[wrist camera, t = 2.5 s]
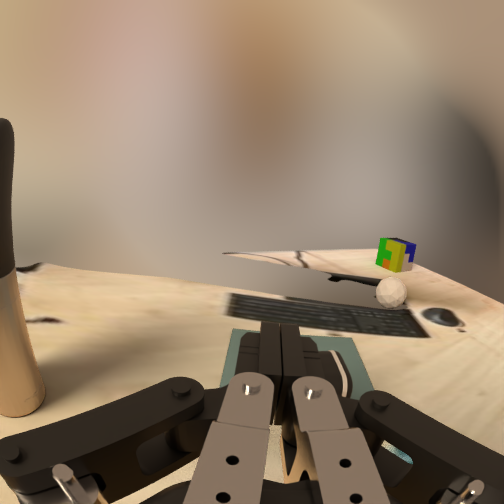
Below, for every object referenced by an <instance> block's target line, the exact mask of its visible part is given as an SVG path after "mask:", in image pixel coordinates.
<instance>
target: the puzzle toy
mask: <svg viewBox="0 0 504 504" xmlns="http://www.w3.org/2000/svg"><path fill="white" fill-rule="evenodd" d="M415 249H416V244H413V243H410V242H407V241H404V240H401V239H398V238H380V244H379V249H378V254H377V259H376V264H377V265H379V266H381V267H383V268H386V269H388V270H390V271H393V272H395V273H397V272H404V271H411V268H412V263H413V258H414V254H415Z"/></svg>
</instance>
